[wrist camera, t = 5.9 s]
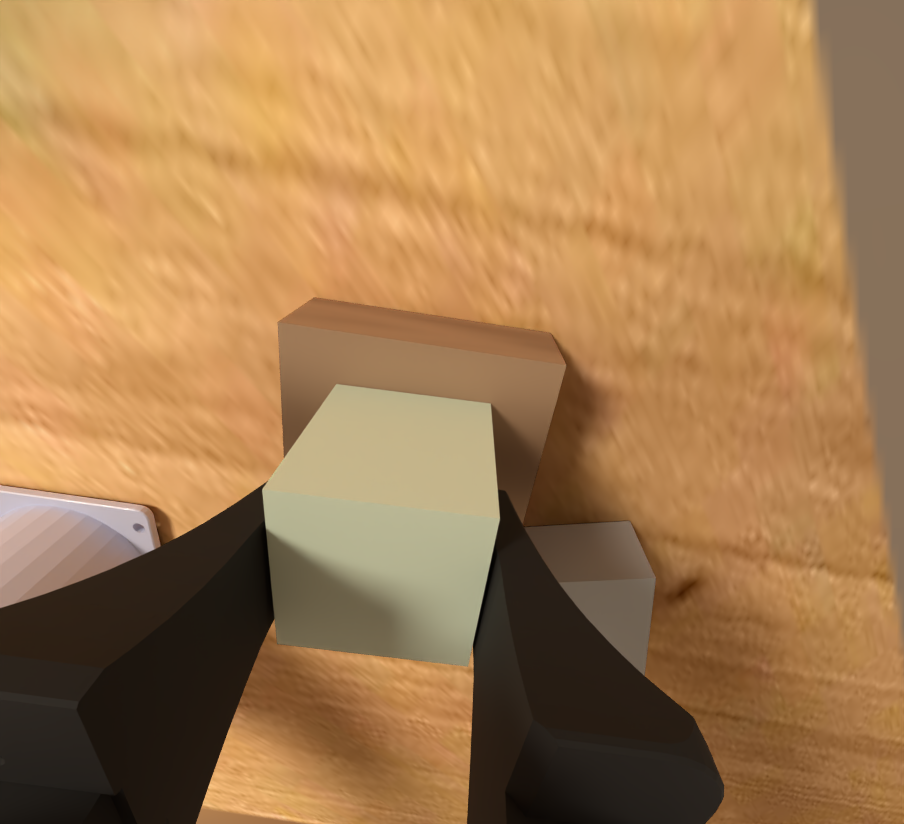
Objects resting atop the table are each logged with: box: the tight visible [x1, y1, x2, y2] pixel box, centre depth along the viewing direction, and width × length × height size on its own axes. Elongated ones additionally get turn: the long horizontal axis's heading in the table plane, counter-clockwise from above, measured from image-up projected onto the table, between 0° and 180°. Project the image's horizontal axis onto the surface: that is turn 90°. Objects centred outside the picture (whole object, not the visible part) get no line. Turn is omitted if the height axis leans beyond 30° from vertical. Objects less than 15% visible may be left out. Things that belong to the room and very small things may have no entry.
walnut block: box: [278, 298, 567, 524], centre depth 15 cm, size 8×8×3 cm
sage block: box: [262, 384, 500, 666], centre depth 12 cm, size 4×4×5 cm
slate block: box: [524, 521, 656, 676], centre depth 19 cm, size 6×6×3 cm
